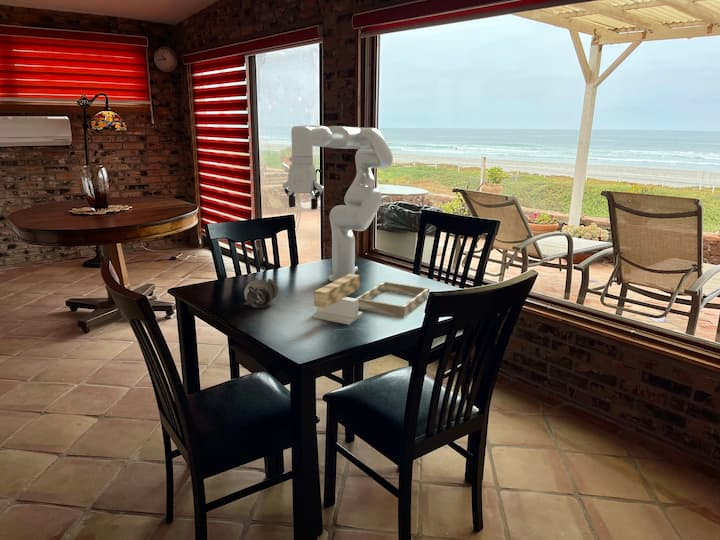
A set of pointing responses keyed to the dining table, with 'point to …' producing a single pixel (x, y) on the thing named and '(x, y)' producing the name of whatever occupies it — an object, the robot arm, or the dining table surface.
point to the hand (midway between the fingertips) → (303, 208)
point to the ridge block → (340, 311)
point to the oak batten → (336, 290)
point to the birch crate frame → (392, 309)
